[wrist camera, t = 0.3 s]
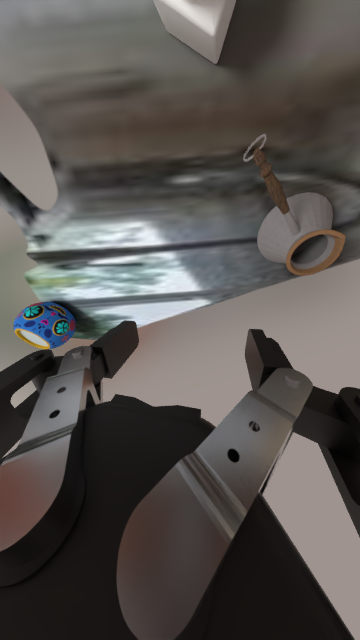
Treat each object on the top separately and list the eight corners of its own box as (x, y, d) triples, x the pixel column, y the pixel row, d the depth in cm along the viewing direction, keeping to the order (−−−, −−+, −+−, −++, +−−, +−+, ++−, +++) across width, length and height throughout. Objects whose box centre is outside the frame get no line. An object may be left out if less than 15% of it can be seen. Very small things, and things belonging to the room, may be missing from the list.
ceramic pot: (89, 314, 63) (63, 344, 53) (77, 330, 74) (54, 358, 63) (43, 285, 56) (2, 313, 46) (37, 308, 67) (4, 335, 57)
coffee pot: (335, 227, 29) (395, 264, 19) (272, 266, 37) (291, 309, 26) (279, 102, 21) (331, 50, 11) (212, 184, 28) (206, 199, 18)
